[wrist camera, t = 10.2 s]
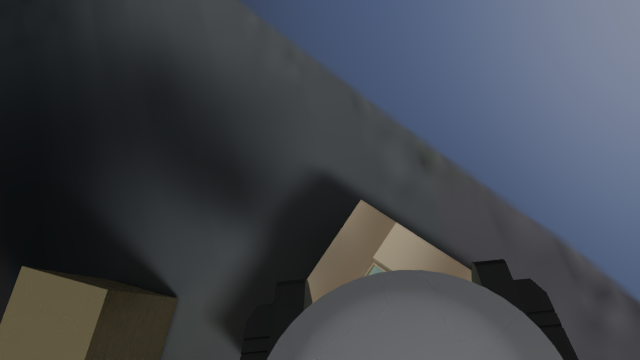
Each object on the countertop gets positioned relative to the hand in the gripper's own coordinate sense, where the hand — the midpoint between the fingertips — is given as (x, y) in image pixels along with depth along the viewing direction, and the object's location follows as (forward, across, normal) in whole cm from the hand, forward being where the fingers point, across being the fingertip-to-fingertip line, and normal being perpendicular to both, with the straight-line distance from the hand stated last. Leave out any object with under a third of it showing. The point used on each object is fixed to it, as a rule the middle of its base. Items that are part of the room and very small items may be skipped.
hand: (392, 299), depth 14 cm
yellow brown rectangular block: (+12, -14, -11) cm, 21 cm away
